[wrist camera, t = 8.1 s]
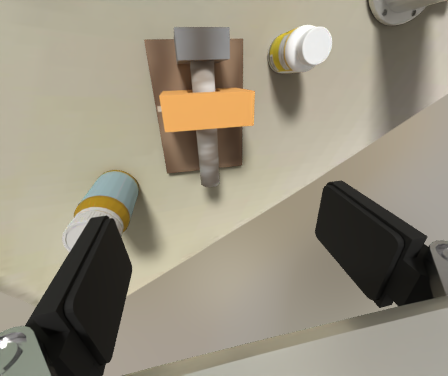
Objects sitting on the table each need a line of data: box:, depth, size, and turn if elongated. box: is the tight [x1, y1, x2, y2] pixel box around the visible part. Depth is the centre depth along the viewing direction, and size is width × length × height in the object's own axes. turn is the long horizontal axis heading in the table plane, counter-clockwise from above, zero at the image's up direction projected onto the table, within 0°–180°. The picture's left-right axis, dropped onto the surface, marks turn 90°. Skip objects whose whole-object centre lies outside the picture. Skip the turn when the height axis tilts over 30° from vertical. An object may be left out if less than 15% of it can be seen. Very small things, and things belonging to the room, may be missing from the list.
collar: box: [159, 88, 255, 132], centre depth 29 cm, size 11×4×9 cm, turn 92°
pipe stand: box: [144, 27, 243, 187], centre depth 32 cm, size 14×20×10 cm
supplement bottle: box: [268, 25, 332, 73], centre depth 30 cm, size 5×5×10 cm
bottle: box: [62, 170, 139, 252], centre depth 32 cm, size 7×7×15 cm
